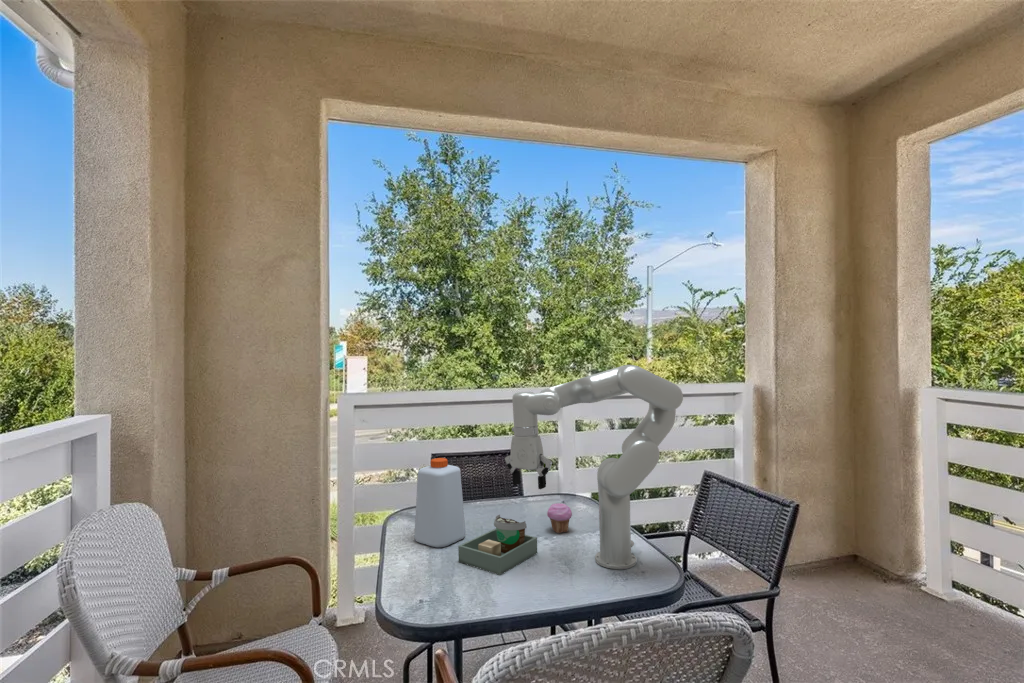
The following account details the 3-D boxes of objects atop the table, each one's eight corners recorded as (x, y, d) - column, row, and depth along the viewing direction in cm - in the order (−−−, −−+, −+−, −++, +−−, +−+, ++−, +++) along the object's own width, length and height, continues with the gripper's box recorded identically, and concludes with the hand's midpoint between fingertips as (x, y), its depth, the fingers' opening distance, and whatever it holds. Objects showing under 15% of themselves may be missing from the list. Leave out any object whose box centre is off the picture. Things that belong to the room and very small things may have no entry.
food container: (486, 549, 166) (485, 518, 167) (499, 543, 171) (498, 513, 171) (514, 558, 158) (514, 526, 158) (527, 552, 163) (526, 521, 163)
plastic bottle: (470, 536, 180) (469, 457, 181) (440, 550, 168) (439, 466, 168) (439, 528, 189) (438, 453, 190) (409, 541, 177) (408, 461, 177)
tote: (497, 542, 174) (497, 527, 175) (537, 553, 165) (537, 537, 165) (458, 561, 159) (458, 545, 159) (500, 575, 149) (500, 557, 149)
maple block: (488, 555, 161) (488, 539, 162) (501, 558, 158) (500, 542, 159) (478, 560, 157) (478, 544, 158) (491, 564, 154) (490, 547, 155)
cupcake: (554, 537, 178) (554, 508, 179) (543, 529, 186) (542, 502, 186) (576, 533, 182) (576, 505, 182) (564, 525, 190) (563, 498, 190)
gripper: (497, 432, 161) (500, 486, 160) (542, 435, 150) (546, 492, 150) (511, 428, 167) (514, 480, 166) (556, 431, 156) (559, 486, 156)
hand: (529, 486), depth 158 cm, fingers open, 9 cm apart
